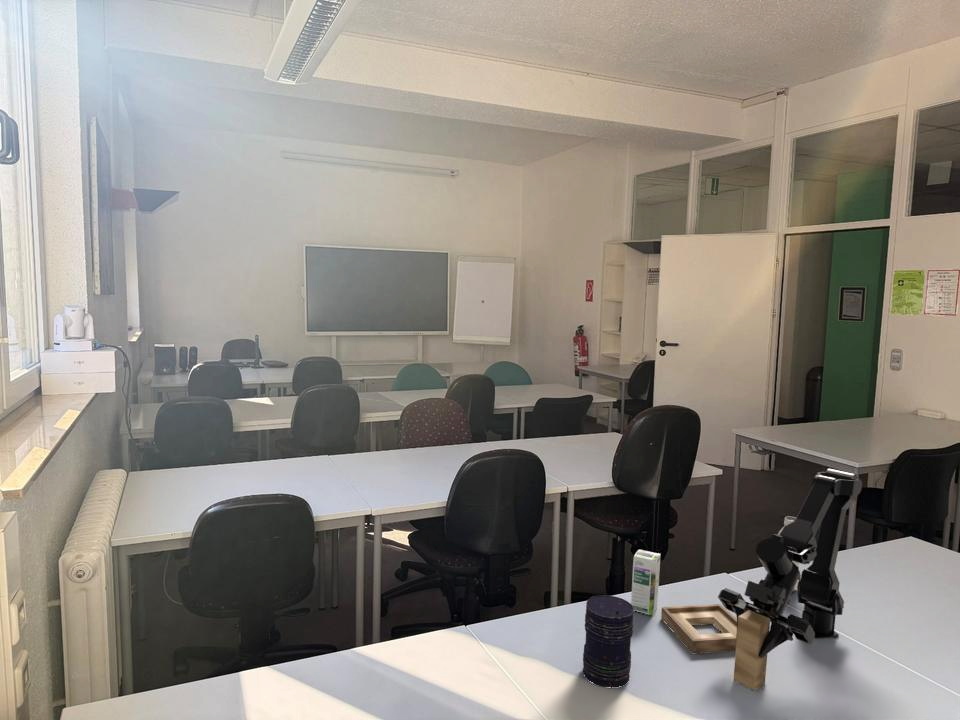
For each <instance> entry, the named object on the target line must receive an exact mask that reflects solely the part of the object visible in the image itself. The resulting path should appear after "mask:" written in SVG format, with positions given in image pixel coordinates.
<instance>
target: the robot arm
mask: <svg viewBox="0 0 960 720" xmlns="http://www.w3.org/2000/svg"><path fill="white" fill-rule="evenodd" d="M862 486H863V482H862V479H860V478H859V475H857V473H852V472H847V471H843V470H838V469H834V468H833V469H832V468H827V469H826V470H825V471H819V472H817V473H816V475H815V476H814V477H813V479H812V483H811V489H810V490H809V492H808V495H807V496H806V498H805V501H804V502H803V504H802V506H801V507H800V510H799V512H798V513H797V516H796V517H795V518H796V519H795V521H794V522H792V523H790V524H788V525H786V526H785V525H784V526H785V527H784V526H783V527H784V528H783V527H782V528H783V530H782V531H781V533H780V534H779V535H778V534H774V533H773V534H772V536H771V537H769V538H768V537H767V538H764V539H762V540H761V541H759V542H758V543H757V545H756V548H755V552H756V556H757V558H758V559H759V561H760V563H761V564H762V566H763V568H764V570H765V572H766V575H765V577H764V579H761V580H759V582H757V583H756V582H754V581H752V580H747V585H746V587H745V591H744V595H741V593H740V592H737V591H735V590H732V589H729V588H727V587H725V588H723V589H721V590H720V592H719V594H718V595H717V598H718V600H719V601H720V602H721V603H720V604H721V605H722V606H723V607H724V608H725V609H726V610H727V611H728V612H730V613H734V614H735V615H736V619H737V627H738V616H740V615H741V614H743V613H745V612H747V611H748V610H751V611H753V612H755V613H758V614H760V615H763V616H765V617H768V618H770V629H769V633H768V635H767V637H766V639H765V641H764V643H763V645H762V647H761V649H760V652H759V657H760V658H762V657H764V656H765V655H766V654H767V655H768V654H769V653H770V652H771V651H773V650H774V649H775V648H777V647H779V646H780V645H782V644H784V643H785V642H788V641H791V642H792V641H793V640H794V638H793V637H795V639H796V640H798V641H800V642H803V643H804V644H807V645H810V646H811V645H813V642H814V640H815V639H824V638H825V639H827V638H828V639H829V638H839V636H840V635H839V633H838V632H836V631H835V625H836V616H842V615H843V612H844V611H843V609H844V608H845V607H844V603H845V600H844V598H843V597H842V594H841V592H840V591H839V590H840V580H839V577H838V575H837V572H836V571H835V570H836V569H835V568H836V564H837V559H838V554H839V549H840V543H841V539H842V534H843V529H844V528H843V527H844V524H845V520H846V514H847V510H848V509H850V507H852V505H854V504H855V503H856V502H857V500H858V497H859V494H860V493H861V492H862V489H863V487H862ZM817 532H818V535H817V539H816V534H817ZM792 561H795V562H798V563H799V564H802V565H804V566H805V565H809V564H810V563H812V564H810V565H809V566H808V567H807V568H806V569H805V568H804V569H803V570H802V571H800V566H799V567H797V566H796V565H795V564H794V563H793V562H792ZM797 580H799V582H798V586H797V590H796V591H797V600H798V602H797V603H799V604H803V605H804V606H803V610H802V614H801V617H800V616H798V615H796V614H792V613H790V614H788V615H787V617H785V616H783V614H784V612H785V609H786V607H787V605H790V604H791V602H792V599H791V596H792V594H793V592H794V591H793V589H794V587H795V584H796V582H797ZM743 596H745V597H749V598H748V599H749V600H750V602H751V603H750V602H748V601H746V600H745V599H744V598H743ZM736 640H737V634H736Z"/></svg>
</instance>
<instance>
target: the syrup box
mask: <svg viewBox="0 0 960 720" xmlns="http://www.w3.org/2000/svg"><path fill="white" fill-rule="evenodd" d="M633 555H634V556H633V558H632V559H633V560H632V561H633V563H632V583H631V598H630V604H631V605H632V606H633V608H634V612H635V611H637V612H636V613H638V612H641V613H640V614H642V613H645V614H644V615H646V614H649V615H653V616H654V614H655V612H656V610H657V608H658V600H659V599H658V598H659V584H660V570H661V569H660V567H661V553H659V552H658V553H657V552H652V551H648V550H644V549H638V550H637V551H636V552H635V554H633ZM649 615H648V616H649Z"/></svg>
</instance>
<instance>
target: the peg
mask: <svg viewBox="0 0 960 720" xmlns="http://www.w3.org/2000/svg"><path fill="white" fill-rule="evenodd" d="M770 627H771V622H770V618H768V617H765V616H763V615H760V614H758V613H755V612H753V611H751V610H748V611H747V612H745V613H743V614H741V615H740V616H738V627H737V640H736V651H735V655H734V666H733V668H734V670H733V681H734V682H736V683H738V682H739V683H738V684H740V685H742V686H743V685H744V687H745V686H746V688H747V687H749V688H750V689H749V688H748V689H749V690H751V689H753V690H755V691H756V690H757V688H758V687H759V688H761V687H762V686H763V685H765V684H766V675H767V664H768V663H767V662H768V654H766V655H765V656H764V657H762V658H760V657H759V652H760V649H761V647H762V645H763V643H764V641H765V639H766V637H767V635H768V633H769V631H770ZM762 684H763V685H762ZM761 685H762V686H761ZM759 688H758V689H759ZM753 690H752V691H753Z"/></svg>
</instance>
